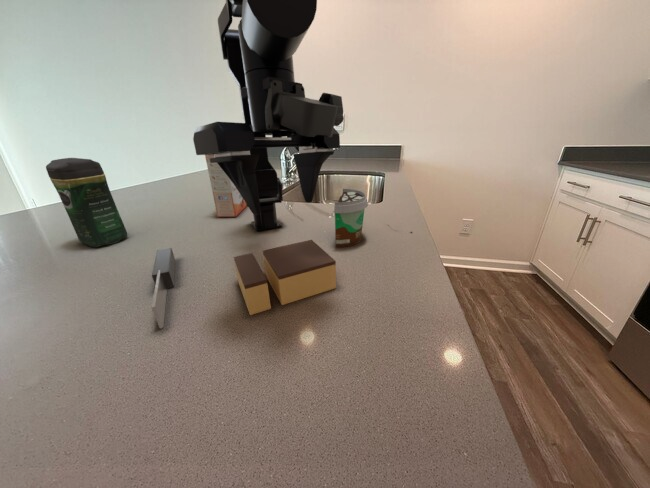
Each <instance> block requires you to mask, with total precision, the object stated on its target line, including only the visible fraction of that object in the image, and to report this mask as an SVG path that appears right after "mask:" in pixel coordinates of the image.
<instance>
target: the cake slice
mask: <svg viewBox="0 0 650 488" xmlns="http://www.w3.org/2000/svg"><path fill="white" fill-rule="evenodd" d="M233 261H234V267H235V272H236V276H237V281H238V285H239V288H240V291H241V294H242V296H243V301H244V302H245V305H246V308H247V311H248V313H249V315H250V316H252V315H255V314H259V313H262V312H264V311H268V310H272V306H271V298H270V291H269V285H268V279H267V277H266V274H265V272H264V271H263V270H262V268H261V266H260V264H259V262H258V261H257V258H256V256H255V255H254V253H253V252H249V253H245V254H241V255H237V256H233Z"/></svg>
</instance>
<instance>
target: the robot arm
mask: <svg viewBox="0 0 650 488" xmlns="http://www.w3.org/2000/svg"><path fill="white" fill-rule="evenodd" d="M317 7H318V0H225V3H224V5H223V7H222V10H221V11H220V14H219V16H218V18H217V26H218V33H219V42H220V47H221V54H222V59H223V61H224V60H225V61H226V63H227V70H228V72H229V74H230V75H231V77H232V78H233V80H234V81H235V83H236V84H237V86H238V90H239V96H240V104H241V111H242V117H243V122H234V121H233V122H232V121H231V122H230V121H214V122H211V123H207V124H203V125H201V126H197V127H196V129H195V131H194V132H193V138H192V140H193V145H194V146H193V147H194V149H195V150H194V151H195V154H196V156H205V155H215V158H209V160H210V163H217V164H218V165H219V166H220V167H221V169H222V170H223V171H224V172H225V174H226V175H227V176H228V177H229V179H230V180H231V181H232V183H233V184H234V185H235V187H236V188H237V190H238V191H239V193H240V195H241V196H242V198H243V199H244V201H245V202H246V205H247V206H246V208H247V207H248V209H249V210H250V212H251V213H252V214H253V215H252V216H253V221H251V225H252V227H253V229H254V230H255V231H256V232H262V231H266V230H272V229H277V228H281V227H282V225H283V224H281V222H280V221H279V220H278V216H277V207H276V204H281V203H282V201H284V197H283V187H284V186H283V185H284V184H283V182H282V181H281V179H280V177H278V173H277V171H276V169H275V168H274V166H273V165H272V164H271V162H270V161H269V154H268V153H269V152H268V149H269V148H270V149H273V148H295V150H296V151H297V152H299V153H293V159H294V163H295V167H296V171H297V176H298V180H299V186H300V188H301V193H302V196H303V198H304V202H305V203H309V204H310V203H312V202H313V200H314V196H315V193H316V188H317V184H318V180H319V175H320V172H321V169H322V167H323V164H324V163H325V162H326V160H327V159H328V158H329V157H331V156H333V155H334V154H335V150H333V149H340V148H341V140H340V133H339V131H337V129H336V128H335V127H339V126H340V125H341V124H342V123H343V122H344V105H343V97H342V96H341V95H337V94H334V93H328V92H322V93H321V94H320V96H319V99H314V98H313V99H312V98H310V97H309V98H308V97H306V91H305V86H304V85H303V83H301V82H297V81H295V69H294V58H293V56H294V55H295V54H296V52H297V51H298V49H299V48H300V47H299V46H300V44H301V43H302V41H303V39H304V38H305V36H306V34H307V33H308V31H309V29H310V27H311V26H312V23H313V22H314V20H315V17H316V13H317ZM233 18H239V19H240V20H239V23H238V25H237V29H232V28H230V27H231V25H232V24H233ZM328 150H329V151H328Z"/></svg>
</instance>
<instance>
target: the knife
mask: <svg viewBox="0 0 650 488" xmlns="http://www.w3.org/2000/svg"><path fill="white" fill-rule="evenodd" d="M176 261H177V260H176V257H175V255H174V251H173V248H172V247H167V248H162V249H157V250H156V255H155V259H154V264H153V269H152V272H151V277H152V280H153V282H154V283H153V284H154V290H153V296H152V301H151V310H152V312H153V315H154V317H155V319H156V323H157V326H158V328H159V329H160V330H161V329H164V323H165V316H166V315H165V314H166V304H167V296H168V289H171V288H174V287H175V279H176V263H177V262H176Z"/></svg>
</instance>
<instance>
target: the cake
mask: <svg viewBox="0 0 650 488" xmlns="http://www.w3.org/2000/svg"><path fill="white" fill-rule="evenodd" d="M261 252H262V259H263V266H264V274H265V277H266V279H267V282H269V284H270V286H271V288H272V290H273V291H274V294H275V295H276V297H277V299H278V301H279V303H280V305H281V306H284V305H288V304H290V303H294V302H297V301H300V300H303V299H306V298H309V297H313V296H316V295H319V294H322V293H325V292H328V291H331V290H334V289H336V288H337V267H336V266H337V265H336V263H337V261H336V259H334V258H333V257H332V256H330V254H328V253H327V252H326V251H325V250H324V249H323V248H322V247H320V245H318V244H317V242H315V241H314V240H313V239H307V240H303V241H300V242H299V241H298V242H295V243H290V244H286V245H281V246H277V247H276V246H275V247H272V248H267V249H264V250H262V251H261Z"/></svg>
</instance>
